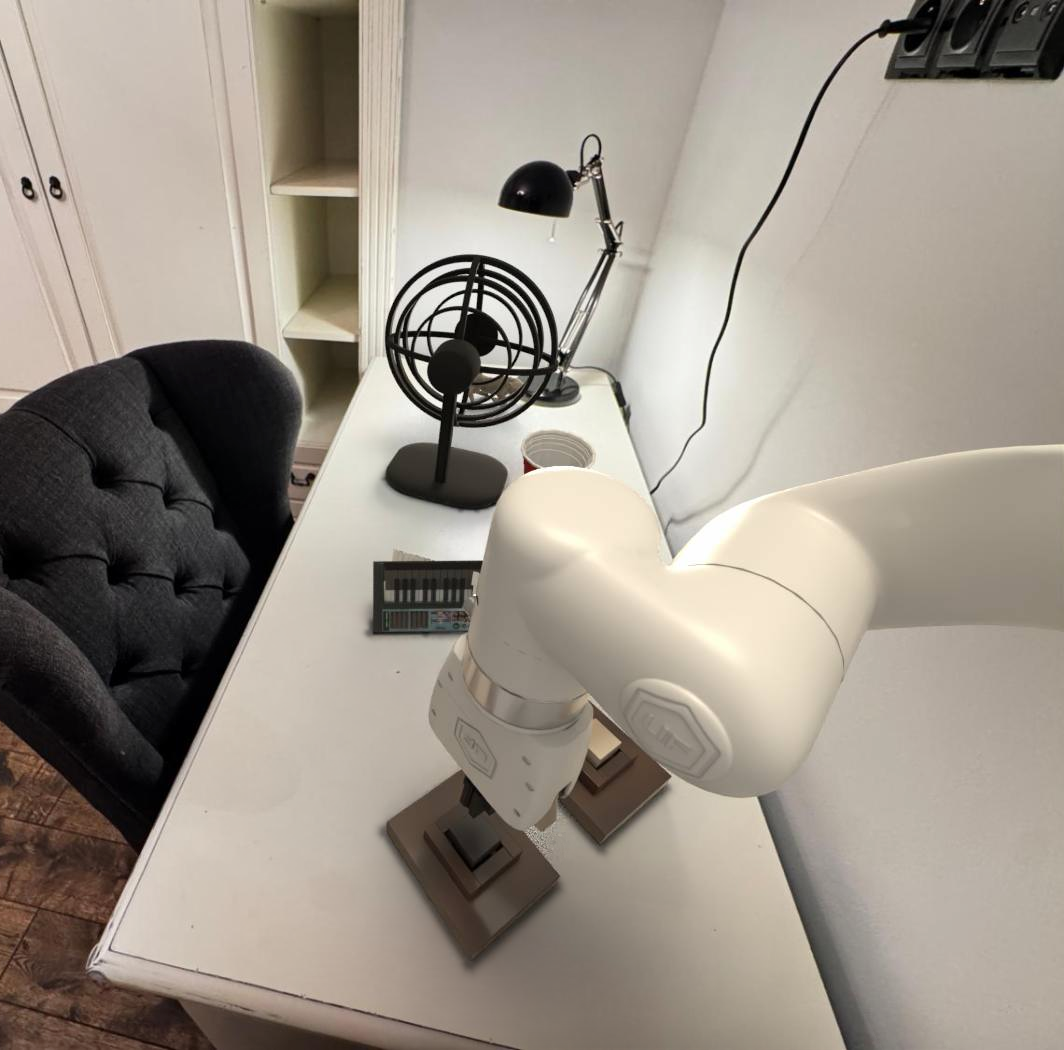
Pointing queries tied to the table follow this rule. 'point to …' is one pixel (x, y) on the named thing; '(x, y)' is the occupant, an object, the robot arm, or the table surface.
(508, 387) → the dog figurine
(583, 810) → the key block
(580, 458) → the plastic cup
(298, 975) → the table surface
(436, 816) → the key block
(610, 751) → the key ivory
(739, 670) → the robot arm
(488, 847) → the key ebony
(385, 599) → the synthesizer keyboard
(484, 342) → the desk fan
